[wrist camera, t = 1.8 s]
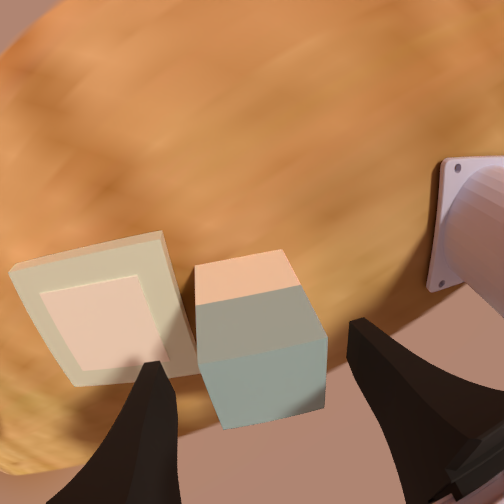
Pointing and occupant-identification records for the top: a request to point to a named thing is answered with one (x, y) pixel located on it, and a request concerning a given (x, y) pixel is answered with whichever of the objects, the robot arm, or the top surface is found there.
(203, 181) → the top surface
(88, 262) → the plate
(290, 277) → the brick stack
